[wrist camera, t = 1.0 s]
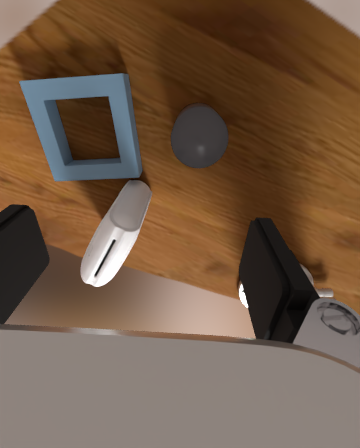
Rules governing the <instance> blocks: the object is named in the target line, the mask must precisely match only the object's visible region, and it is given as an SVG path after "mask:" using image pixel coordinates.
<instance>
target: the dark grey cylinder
mask: <svg viewBox="0 0 360 448" xmlns="http://www.w3.org/2000/svg"><path fill="white" fill-rule="evenodd" d="M227 144H228V130H227V127H226V124H225V122H224V121H223V119H222V118H221V117H220V116H219V115H218V114H217V113H216V111H215V110H214V109H213V108H212V107H210V106H209V105H207V104H204V103H193V104H190V105H188V106H186V107H185V108H184V109H183V110H182V111H181V112H180V113H179V115H178V117H177V119H176V122H175V124H174V127H173V129H172V133H171V146H172V149H173V152H174V154H175V155H176V157H177V158H178V159H179V160H180V161H181V162H182V163H183V164H185V165H187V166H189V167H193V168H204V167H208V166H210V165H212V164H214V163H215V162H217V161H218V160H219V159H220V158H221V157H222V155H223V154H224V152H225V150H226V148H227Z"/></svg>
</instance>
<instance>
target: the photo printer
mask: <svg viewBox="0 0 360 448" xmlns="http://www.w3.org/2000/svg"><path fill="white" fill-rule="evenodd" d="M151 196H152V191H150V188H149V187H148V186H147V185H146V184H145V183H144V182H142V181H139V180H133V181H132V180H129V181H128V182H127V183H126V184H125V186H124V187H123V188H122V190H121V192H120V193H119V195H118V197H117V198H116V200H115V201H114V203H113V204H112V206H111V207H110V209H109V210H108V212H107V214H106V215H105V216H104V218H103V219H102V221H101V222H100V225H99V226H98V228H97V230H96V232H95V234H94V236H93V237H92V239H91V241H90V243H89V246H88V248H87V250H86V252H85V255H84V257H83V260H82V264H81V277H82V279H83V281H84V282H85V283H88V284H91V285H93V286H95V287H98V286H102V285H104V284H106V283H107V282H109V281H110V280H111V279H112V278H113V277H114V276H115V274H116V273H117V271H118V270H119V268H120V267H121V265H122V264H123V262H124V261H125V259H126V257H127V255H128V254H129V252H130V250H131V248H132V246H133V245H134V243H135V241H136V239H137V236H138V234H139V231H140V228H141V226H142V223H143V220H144V217H145V214H146V211H147V208H148V205H149V202H150V199H151Z"/></svg>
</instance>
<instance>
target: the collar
mask: <svg viewBox="0 0 360 448" xmlns="http://www.w3.org/2000/svg"><path fill="white" fill-rule="evenodd" d="M19 82H20V85H21V88H22V91H23V93H24V96H25V99H26V102H27V105H28V107H29V110H30V113H31V116H32V119H33V121H34V124H35V127H36V130H37V133H38V135H39V138H40V141H41V144H42V146H43V149H44V152H45V155H46V158H47V160H48V163H49V166H50V169H51V172H52V174H53V177H54V180H55V181H72V180H94V179H116V178H138V177H140V175H141V173H142V171H143V170H142V164H141V157H140V150H139V143H138V136H137V130H136V123H135V116H134V109H133V103H132V96H131V89H130V82H129V76H128V74H124V73H121V74H107V75H94V76H81V77H67V78H54V79H40V80H27V81H19ZM101 96H109V102H110V107H111V112H112V117H113V122H114V127H115V133H116V138H117V143H118V148H119V153H120V158H110V159H90V160H73V158H72V155H71V151H70V148H69V145H68V141H67V138H66V135H65V131H64V128H63V125H62V121H61V118H60V115H59V111H58V108H57V105H56V101H55V100H58V99H72V98H87V97H101Z"/></svg>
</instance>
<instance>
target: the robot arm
mask: <svg viewBox="0 0 360 448" xmlns="http://www.w3.org/2000/svg"><path fill="white" fill-rule="evenodd" d="M48 264H49V255H48V252H47V248H46V245H45V242H44V239H43V236H42V233H41V230H40V227H39V224H38V221H37V218H36V215H35V212H34V210H33V209H30V207H29V206H27V205H15V204H12V205H10V206H8V207H7V208H5V209H4V210H3V211H1V212H0V448H360V316H359V315H358V314H357V313H356V312H355V311H354V310H353V309H352V308H350V307H349V306H347V305H345V304H344V303H341V302H339V301H337V300H336V299H335V298H334V297H332V296H333V291H332V289H331V288H322V289H317V288H316V287H314V281H313V278H312V276H311V274H310V272H309V271H308V269H307V268H306V267H304V266H303V265H302V264H300V263H299V262H298V260H297V259H296V257H295V255H294V254H293V252H292V251H291V250H289V248H288V246H287V245H286V243H285V241H284V240H283V238H282V236H281V235H280V233H279V231H278V230H277V228H276V226H275V225H274V223H273V221H272V220H271V219H270V218H256V219H255V221H251V222H250V225H249V230H248V234H247V238H246V242H245V246H244V250H243V254H242V258H241V262H240V266H239V276H240V282H239V286H238V292H239V296H240V299H241V301H242V303H243V304H244V305H245V306H246V307H248V310H249V314H250V317H251V321H252V325H253V328H254V333H255V336H256V339H253V338H241V337H240V338H239V337H227V336H213V335H198V334H181V333H163V332H145V331H128V330H109V329H89V328H70V327H50V326H31V325H30V326H29V325H9V324H4V323H5V322H6V321H7V319H8V318H9V317H10V315H11V314H12V313H13V311H14V310H15V308H16V307H17V306H18V305H19V303H20V302H21V300H22V299H23V298H24V296H25V295H26V294H27V292H28V291H29V290H30V288H31V287H32V286H33V284H34V283H35V282H36V280H37V279H38V278H39V276H40V275H41V274H42V272H43V271H44V270H45V268H46V267H47V266H48ZM320 297H321V298H320Z"/></svg>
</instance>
